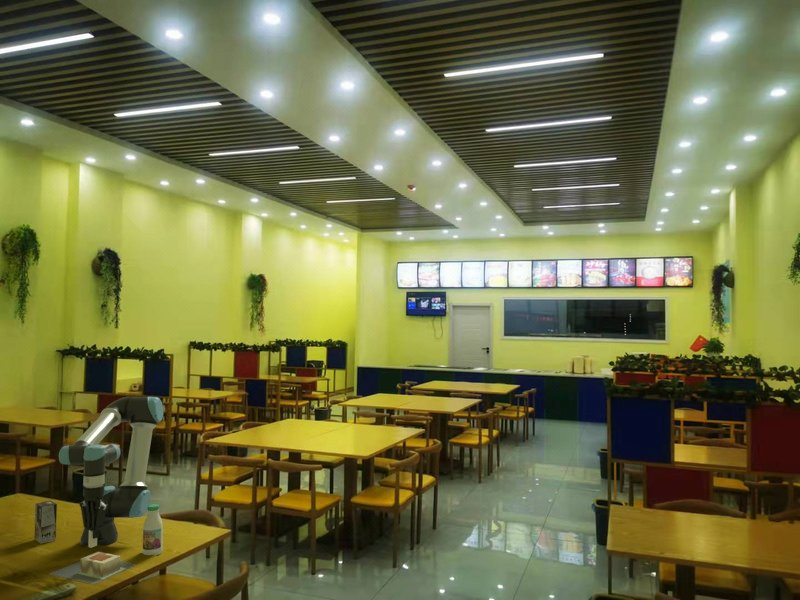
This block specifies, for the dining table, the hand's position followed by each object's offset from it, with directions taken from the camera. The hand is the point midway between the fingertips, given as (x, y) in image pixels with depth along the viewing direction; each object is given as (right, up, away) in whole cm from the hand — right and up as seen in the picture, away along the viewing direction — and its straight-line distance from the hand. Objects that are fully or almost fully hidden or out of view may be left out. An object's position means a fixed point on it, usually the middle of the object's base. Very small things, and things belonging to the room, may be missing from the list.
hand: (92, 546), depth 234 cm
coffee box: (-39, -11, +34) cm, 53 cm away
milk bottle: (+16, -11, +17) cm, 26 cm away
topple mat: (+1, -9, -1) cm, 9 cm away
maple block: (-1, -6, 0) cm, 6 cm away
